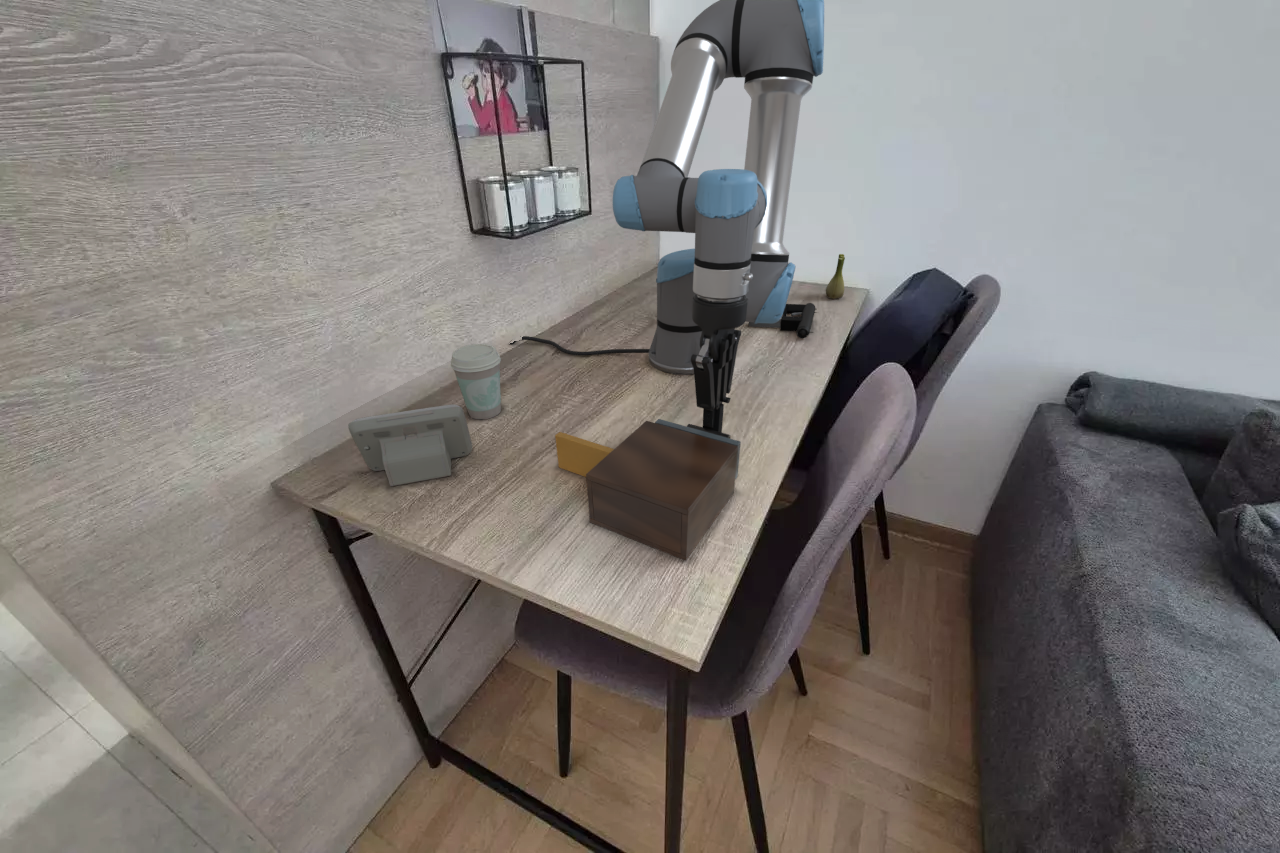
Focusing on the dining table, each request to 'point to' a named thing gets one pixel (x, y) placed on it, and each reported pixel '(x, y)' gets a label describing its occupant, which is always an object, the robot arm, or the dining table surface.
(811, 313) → the door handle
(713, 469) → the cabinet
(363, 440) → the digital clock
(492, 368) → the coffee cup
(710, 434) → the drawer
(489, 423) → the dining table surface
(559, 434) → the upright yellow panel
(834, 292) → the green gourd
